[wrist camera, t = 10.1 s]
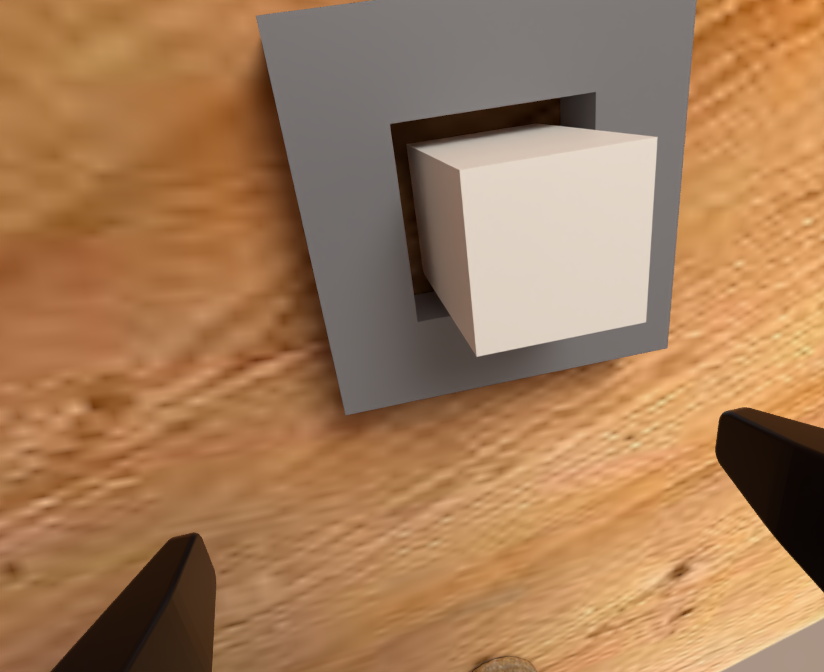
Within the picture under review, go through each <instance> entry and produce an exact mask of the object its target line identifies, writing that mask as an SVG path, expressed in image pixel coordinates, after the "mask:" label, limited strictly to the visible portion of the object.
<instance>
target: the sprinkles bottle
mask: <svg viewBox="0 0 824 672" xmlns="http://www.w3.org/2000/svg"><path fill="white" fill-rule="evenodd" d="M473 672H537V670H536V669H535V667H534V666H533V665H532V664H531V663H530V662H528V661H526V660H524V659H521V658H517V657H502V658H499V659H494V660H490V661H489V662H487V663H484V664H482V665H481V666H480V667H478V668H476V669H475V670H474V671H473Z"/></svg>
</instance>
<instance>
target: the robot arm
mask: <svg viewBox="0 0 824 672" xmlns="http://www.w3.org/2000/svg"><path fill="white" fill-rule="evenodd" d="M715 452H716V457H717V459H718V462H719V463H720V465H721V466H722V468H723V469H724V470H725V472H726V473H727V474H728V476H729V477H730V479H731V480H732V481H733V483H734V484H735V485H736V487H737V488H738V489H739V491H740V492H741V493H742V495H743V496H744V497H745V499H746V500H747V501H748V503H749V504H750V505H751V507H752V508H753V509H754V511H755V512H756V513H757V515H758V516H759V517H760V519H761V520H762V522H763V523H764V524H765V526H766V527H767V528H768V529H769V531H770V532H771V533H772V534H773V536H774V537H775V538H776V539H777V540H778V542H779V543H780V544H781V545H782V546H783V548H784V549H785V550H786V551H787V552H788V553H789V554H790V555H791V557H792V558H793V559H794V560H795V561H796V562H797V563H798V564H799V565H800V567H801V568H802V569H803V570H804V571H805V572H806V573H807V574H808V576H809V577H810V578H811V579H812V580H813V581H814V582H815V583H816V584H817V586H818V587H819V588H820V589H821V590H822V591H823V592H824V428H820V427H816V426H813V425H809V424H806V423H802V422H798V421H795V420H791V419H788V418H784V417H780V416H777V415H773V414H770V413H766V412H762V411H759V410H755V409H752V408H747V407H743V408H738V409H734V410H729V411H726V412H724V413H722V415H721V416H720V418H719V424H718V432H717V439H716V447H715ZM215 599H216V575H215V570H214V567H213V565H212V562H211V560H210V557H209V555H208V552H207V549H206V547H205V544H204V542H203V539H202V537H201V536H200V535H199V534H198V533H189V534H185V535H181V536H176V537H173V538H171V539H170V540H168V541H167V542H166V543H165V545H164V546H163V547H162V548H161V549H160V550H159V551H158V552H157V553H156V555H155V556H154V557H153V558H152V559H151V560H150V561H149V562H148V563H147V565H146V566H145V567H144V568H143V569H142V570H141V571H140V572H139V574H138V575H137V576H136V577H135V578H134V579H133V580H132V581H131V582H130V584H129V585H128V586H127V587H126V588H125V589H124V590H123V591H122V592H121V594H120V595H119V596H118V597H117V598H116V599H115V600H114V601H113V603H112V604H111V605H110V606H109V607H108V608H107V609H106V610H105V611H104V613H103V614H102V615H101V616H100V617H99V618H98V619H97V620H96V621H95V623H94V624H93V625H92V626H91V627H90V628H89V629H88V630H87V632H86V633H85V634H84V635H83V636H82V637H81V638H80V639H79V640H78V642H77V643H76V644H75V645H74V646H73V647H72V648H71V649H70V650H69V652H68V653H67V654H66V655H65V656H64V657H63V658H62V659H61V660H60V662H59V663H58V664H57V665H56V666H55V667H54V668H53V669H52V671H51V672H212V658H213V639H214V619H215Z"/></svg>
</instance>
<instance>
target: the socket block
mask: <svg viewBox="0 0 824 672" xmlns="http://www.w3.org/2000/svg"><path fill="white" fill-rule="evenodd" d="M695 12H696V0H372V1H365V2H357V3H349V4H342V5H334V6H326V7H319V8H311V9H304V10H296V11H288V12H281V13H273V14H266V15H258V16H256V18H257V23H258V27H259V32H260V36H261V41H262V45H263V49H264V54H265V58H266V63H267V67H268V72H269V76H270V81H271V85H272V90H273V94H274V98H275V103H276V107H277V112H278V116H279V121H280V125H281V130H282V134H283V139H284V143H285V147H286V152H287V156H288V161H289V165H290V170H291V174H292V179H293V183H294V188H295V192H296V196H297V201H298V205H299V210H300V214H301V219H302V223H303V228H304V232H305V237H306V241H307V246H308V250H309V254H310V259H311V263H312V268H313V272H314V277H315V281H316V286H317V290H318V295H319V299H320V303H321V308H322V312H323V317H324V321H325V326H326V330H327V335H328V339H329V344H330V348H331V352H332V357H333V361H334V366H335V370H336V375H337V379H338V384H339V388H340V393H341V397H342V401H343V406H344V410H345V415H350V414H355V413H359V412H364V411H369V410H374V409H379V408H383V407H388V406H393V405H398V404H402V403H407V402H412V401H417V400H422V399H426V398H431V397H436V396H441V395H445V394H450V393H455V392H460V391H465V390H469V389H474V388H479V387H484V386H489V385H493V384H498V383H503V382H508V381H512V380H517V379H522V378H527V377H532V376H536V375H541V374H546V373H551V372H555V371H560V370H565V369H570V368H575V367H579V366H584V365H589V364H594V363H599V362H603V361H608V360H613V359H618V358H622V357H627V356H632V355H637V354H642V353H646V352H651V351H656V350H661V349H666V348H667V346H668V334H669V322H670V310H671V299H672V287H673V275H674V263H675V251H676V239H677V227H678V215H679V203H680V191H681V179H682V167H683V155H684V144H685V132H686V120H687V108H688V96H689V84H690V72H691V60H692V48H693V36H694V24H695ZM553 98H560V126H564V127H573V128H582V129H591V130H600V131H609V132H618V133H627V134H636V135H644V136H653V137H658V138H657V154H656V171H655V187H654V203H653V219H652V235H651V251H650V267H649V283H648V299H647V315H646V322H645V323H640V324H635V325H630V326H625V327H620V328H616V329H611V330H606V331H601V332H596V333H591V334H586V335H581V336H576V337H571V338H566V339H562V340H557V341H552V342H547V343H542V344H537V345H532V346H527V347H522V348H517V349H512V350H508V351H503V352H498V353H493V354H488V355H483V356H478V357H477V356H476V355H475V353H474V352H473V350H472V349H471V347H470V345H469V344H468V342H467V341H466V339H465V338H464V336H463V334H462V333H461V331H460V330H459V328H458V327H457V325H456V323H455V322H454V320H453V319H452V317H451V316H450V314H449V312H448V311H447V309H446V308H445V306H444V305H443V303H442V301H441V300H440V298H439V297H438V295H437V294H436V292H435V291H432V292H427V293H421V294H416V295H414V292H413V285H412V278H411V270H410V263H409V256H408V249H407V242H406V235H405V228H404V221H403V214H402V207H401V200H400V193H399V185H398V178H397V171H396V164H395V157H394V150H393V143H392V136H391V129H390V124H392V123H399V122H405V121H412V120H418V119H425V118H431V117H438V116H444V115H450V114H457V113H463V112H470V111H476V110H483V109H489V108H495V107H502V106H508V105H515V104H521V103H528V102H534V101H541V100H547V99H553Z"/></svg>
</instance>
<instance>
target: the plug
mask: <svg viewBox="0 0 824 672" xmlns="http://www.w3.org/2000/svg"><path fill="white" fill-rule="evenodd" d="M657 138H658V137H653V136H644V135H636V134H627V133H618V132H609V131H600V130H591V129H582V128H573V127H564V126H556V125H547V124H538V123H535V124H529V125H523V126H517V127H510V128H504V129H498V130H492V131H485V132H479V133H473V134H467V135H461V136H454V137H448V138H442V139H436V140H429V141H423V142H417V143H411V144H406V145H407V152H408V160H409V168H410V175H411V183H412V190H413V198H414V206H415V213H416V221H417V228H418V236H419V244H420V251H421V259H422V266H423V273H424V275H425V276H426V278H427V279H428V281H429V283H430V284H431V286H432V287H433V289H434V290H435V292H436V294H437V295H438V297H439V298H440V300H441V301H442V303H443V305H444V306H445V308H446V309H447V311H448V312H449V314H450V316H451V317H452V319H453V320H454V322H455V323H456V325H457V327H458V328H459V330H460V331H461V333H462V334H463V336H464V338H465V339H466V341H467V342H468V344H469V345H470V347H471V349H472V350H473V352H474V353H475V355H476V356H477V357H478V356H483V355H488V354H493V353H498V352H503V351H508V350H512V349H517V348H522V347H527V346H532V345H537V344H542V343H547V342H552V341H557V340H562V339H566V338H571V337H576V336H581V335H586V334H591V333H596V332H601V331H606V330H611V329H616V328H620V327H625V326H630V325H635V324H640V323H645V322H646V315H647V299H648V283H649V267H650V251H651V235H652V219H653V203H654V187H655V171H656V154H657Z"/></svg>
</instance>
